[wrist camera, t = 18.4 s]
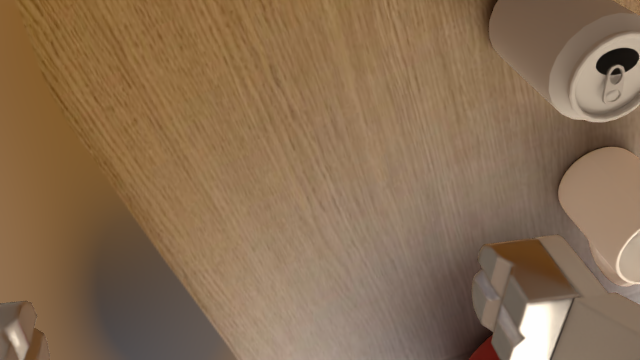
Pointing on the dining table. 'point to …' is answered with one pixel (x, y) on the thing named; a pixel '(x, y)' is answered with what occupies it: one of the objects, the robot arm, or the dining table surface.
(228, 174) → the dining table surface
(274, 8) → the dining table surface
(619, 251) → the mug
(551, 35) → the can
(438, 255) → the dining table surface
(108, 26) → the dining table surface
